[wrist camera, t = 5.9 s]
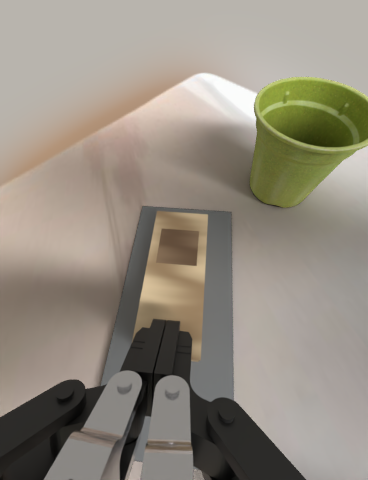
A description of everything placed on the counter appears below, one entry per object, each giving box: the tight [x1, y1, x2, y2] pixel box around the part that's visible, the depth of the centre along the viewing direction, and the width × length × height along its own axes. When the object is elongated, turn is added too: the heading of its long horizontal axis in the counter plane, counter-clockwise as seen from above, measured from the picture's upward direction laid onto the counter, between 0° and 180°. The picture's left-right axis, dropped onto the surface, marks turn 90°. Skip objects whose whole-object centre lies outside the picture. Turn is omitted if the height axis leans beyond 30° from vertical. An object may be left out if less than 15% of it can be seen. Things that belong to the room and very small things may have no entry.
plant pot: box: [250, 77, 368, 208], centre depth 21 cm, size 9×9×9 cm
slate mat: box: [101, 206, 234, 469], centre depth 18 cm, size 9×19×1 cm, turn 175°
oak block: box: [132, 211, 208, 362], centre depth 17 cm, size 4×4×10 cm
